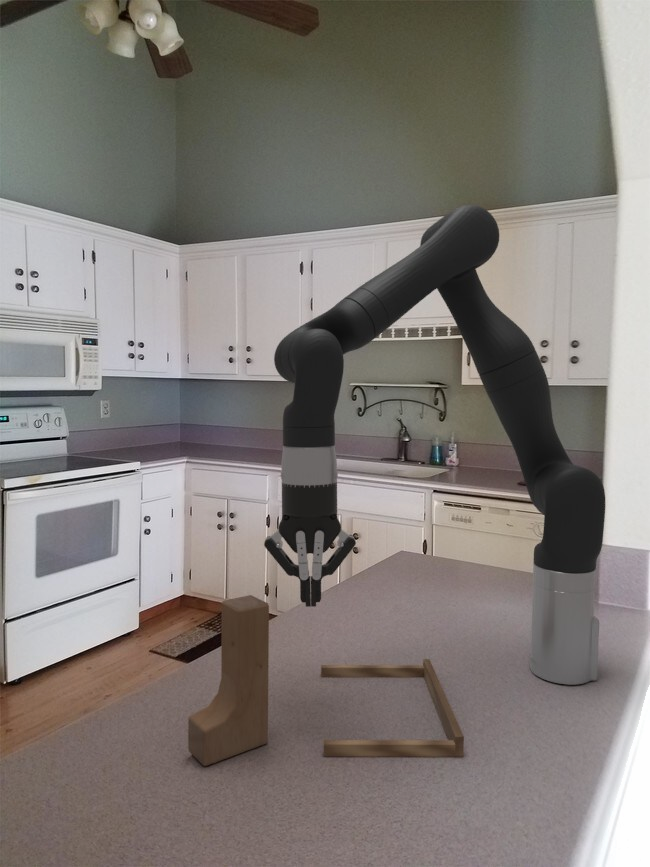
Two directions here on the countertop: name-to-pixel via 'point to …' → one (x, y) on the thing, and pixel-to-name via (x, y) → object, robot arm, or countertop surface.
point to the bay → (400, 747)
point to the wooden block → (236, 686)
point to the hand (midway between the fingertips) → (310, 604)
